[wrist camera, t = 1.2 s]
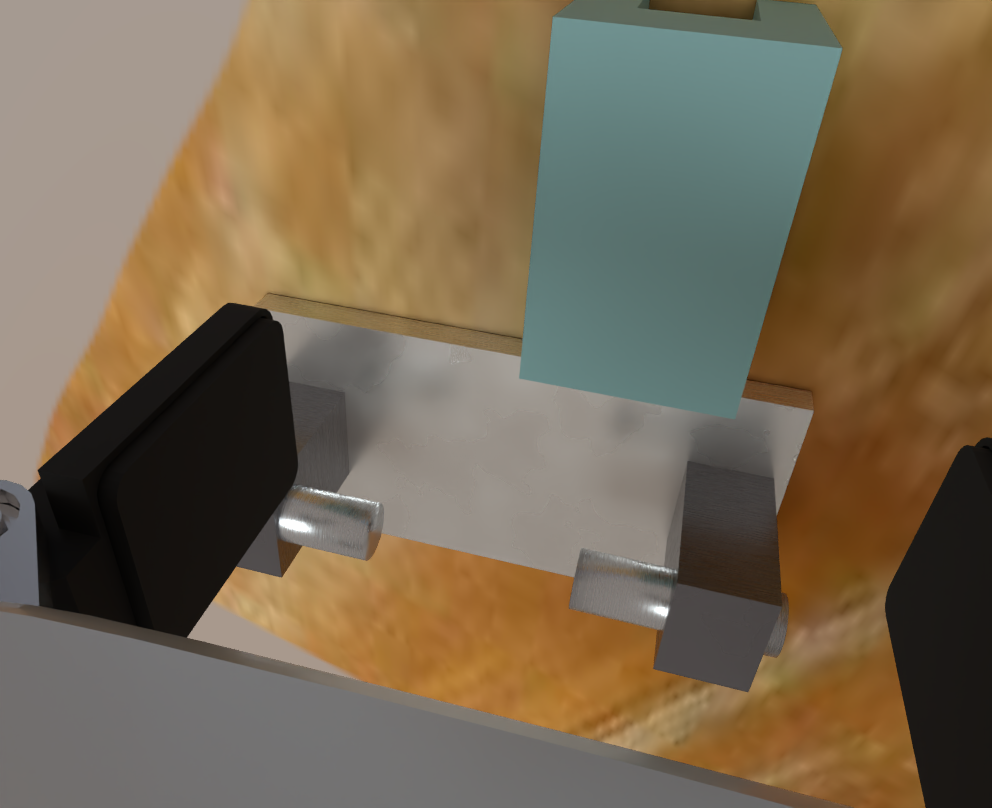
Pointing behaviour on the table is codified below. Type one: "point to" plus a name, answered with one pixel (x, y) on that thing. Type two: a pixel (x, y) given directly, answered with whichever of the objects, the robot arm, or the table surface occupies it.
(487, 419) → the shaft rig
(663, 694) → the table surface
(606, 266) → the teal block
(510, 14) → the table surface
